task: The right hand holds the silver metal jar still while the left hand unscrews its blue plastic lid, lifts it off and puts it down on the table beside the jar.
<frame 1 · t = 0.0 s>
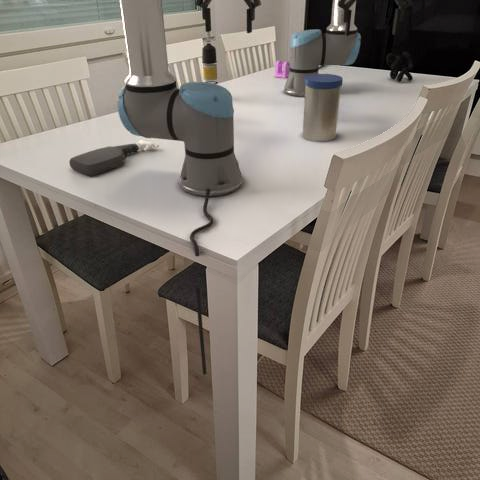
left hand: (228, 32, 139), 28 cm above the table, tool pointing down, fingers open, 13 cm apart
right hand: (370, 34, 128), 28 cm above the table, tool pointing down, fingers open, 13 cm apart
spray bottle: (117, 159, 125), on the table
squiggle: (399, 80, 200), on the table
bracket: (287, 75, 214), on the table
cup: (142, 117, 159), on the table
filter: (211, 98, 179), on the table
jar: (318, 135, 139), on the table
lid: (323, 79, 130), point 17 cm above the table, screwed on, not yet turned
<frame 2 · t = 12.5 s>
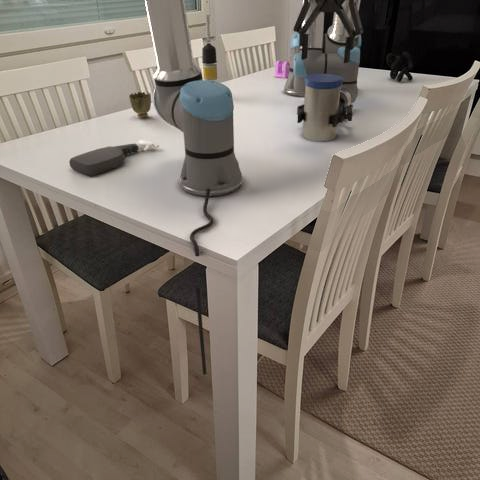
left hand: (324, 60, 127), 22 cm above the table, tool pointing down, fingers open, 12 cm apart
right hand: (316, 120, 133), 6 cm above the table, tool horizontal, fingers closed on jar, 10 cm apart
jar: (318, 135, 139), on the table, touching right hand
everything else where it was.
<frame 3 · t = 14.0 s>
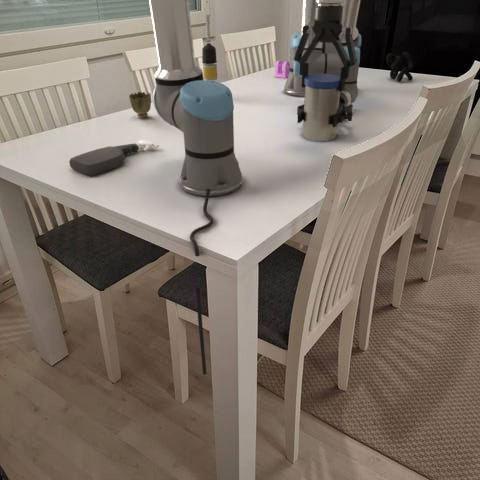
left hand: (322, 88, 131), 14 cm above the table, tool pointing down, fingers closed on lid, 11 cm apart
right hand: (316, 120, 133), 6 cm above the table, tool horizontal, fingers closed on jar, 10 cm apart
jar: (318, 135, 139), on the table, touching right hand
lid: (323, 79, 130), point 17 cm above the table, screwed on, not yet turned, touching left hand
everything else where it was.
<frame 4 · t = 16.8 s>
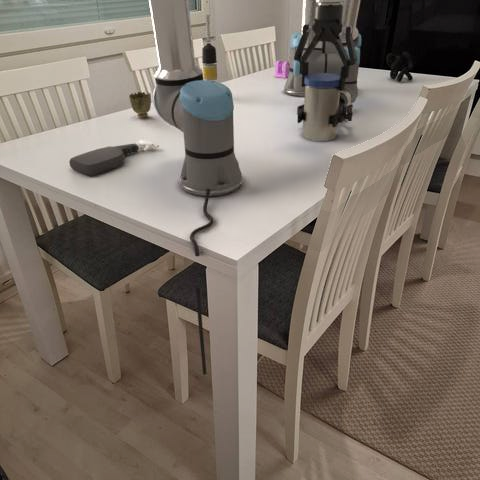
left hand: (322, 87, 131), 15 cm above the table, tool pointing down, fingers closed on lid, 11 cm apart
right hand: (316, 120, 133), 6 cm above the table, tool horizontal, fingers closed on jar, 10 cm apart
jar: (318, 135, 139), on the table, touching right hand
lid: (323, 78, 130), point 17 cm above the table, turned 74° so far, risen 0.3 cm, still on its thread, touching left hand
everything else where it was.
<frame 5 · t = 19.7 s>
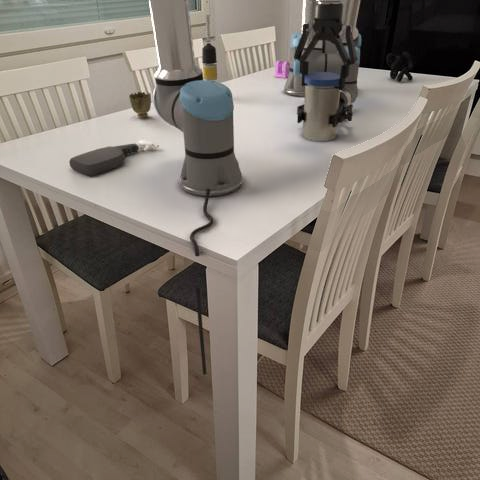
left hand: (322, 87, 131), 15 cm above the table, tool pointing down, fingers closed on lid, 11 cm apart
right hand: (316, 120, 133), 6 cm above the table, tool horizontal, fingers closed on jar, 10 cm apart
jar: (318, 135, 139), on the table, touching right hand
lid: (323, 77, 130), point 18 cm above the table, turned 148° so far, risen 0.5 cm, still on its thread, touching left hand
everything else where it was.
when the left hand's fingers open (0 cm above the table, at t = 25.9 s): lid drops 2 cm, point 1 cm above the table.
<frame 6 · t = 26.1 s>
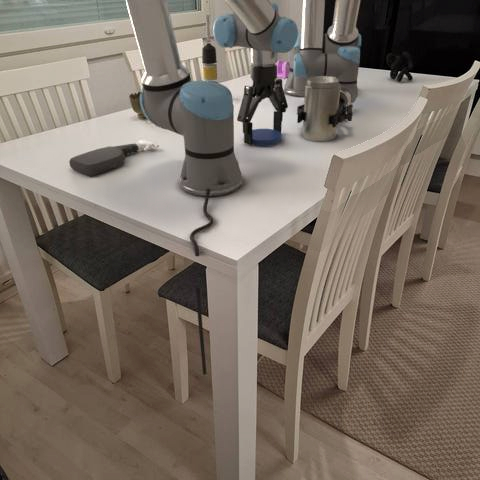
left hand: (263, 138, 136), 1 cm above the table, tool pointing down, fingers open, 12 cm apart
right hand: (316, 120, 133), 6 cm above the table, tool horizontal, fingers closed on jar, 10 cm apart
jar: (318, 135, 139), on the table, touching right hand
lid: (263, 135, 136), point 1 cm above the table, off its thread
everything else where it was.
when the right hand's fingers open (6 cm above the table, at t = 27.0 s): jar stays where it is, on the table.
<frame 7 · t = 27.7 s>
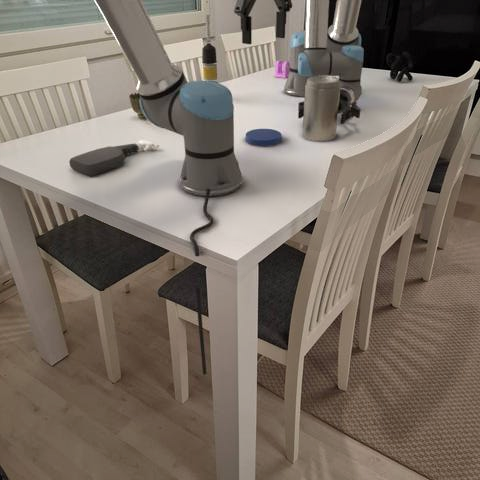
left hand: (264, 40, 122), 28 cm above the table, tool pointing down, fingers open, 13 cm apart
right hand: (320, 116, 136), 6 cm above the table, tool horizontal, fingers open, 13 cm apart
jar: (318, 135, 139), on the table
everything else where it was.
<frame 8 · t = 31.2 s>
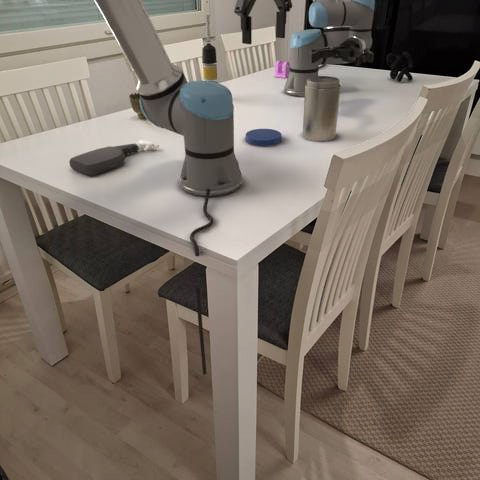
left hand: (264, 40, 122), 28 cm above the table, tool pointing down, fingers open, 13 cm apart
right hand: (334, 60, 135), 21 cm above the table, tool horizontal, fingers open, 13 cm apart
nothing on the table moved.
at the end: lid came off its thread; lid point 1.5 cm above the table; the left hand is holding nothing; the right hand is holding nothing; jar tilted 0°; jar moved 0.0 cm from its start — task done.
